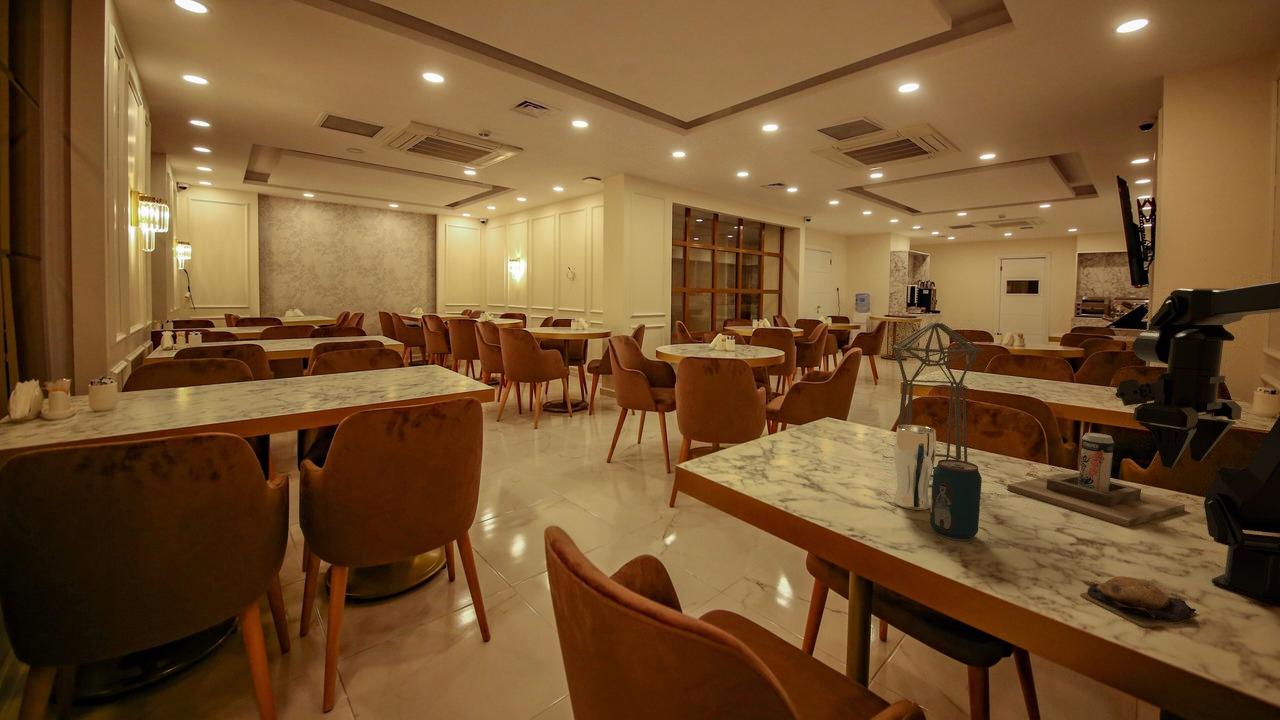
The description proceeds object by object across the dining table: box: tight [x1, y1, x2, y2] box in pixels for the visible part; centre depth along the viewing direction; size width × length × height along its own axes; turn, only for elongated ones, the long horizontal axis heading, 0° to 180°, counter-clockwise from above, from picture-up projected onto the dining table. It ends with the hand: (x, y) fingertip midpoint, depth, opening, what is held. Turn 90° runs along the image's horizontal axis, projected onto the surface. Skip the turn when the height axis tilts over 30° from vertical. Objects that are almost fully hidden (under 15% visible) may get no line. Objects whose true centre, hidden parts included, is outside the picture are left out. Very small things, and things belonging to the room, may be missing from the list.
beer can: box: [1078, 432, 1115, 493], centre depth 102 cm, size 5×5×12 cm
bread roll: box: [1079, 575, 1198, 628], centre depth 66 cm, size 11×8×4 cm
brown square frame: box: [1006, 472, 1186, 528], centre depth 103 cm, size 20×20×3 cm
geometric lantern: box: [892, 322, 985, 488], centre depth 112 cm, size 16×16×35 cm
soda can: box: [929, 458, 983, 542], centre depth 86 cm, size 7×7×12 cm
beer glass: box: [893, 424, 937, 511], centre depth 99 cm, size 7×7×15 cm
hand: (1182, 463), depth 83 cm, fingers open, 9 cm apart
